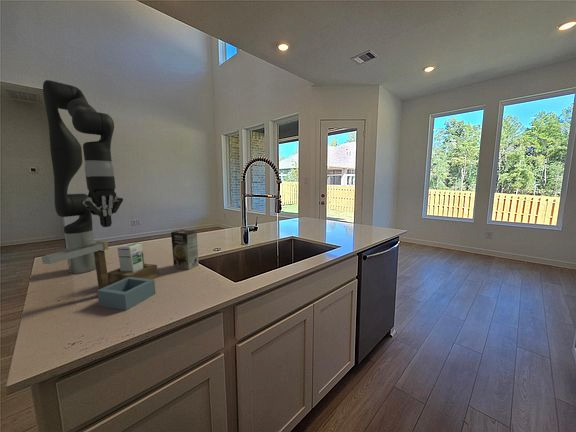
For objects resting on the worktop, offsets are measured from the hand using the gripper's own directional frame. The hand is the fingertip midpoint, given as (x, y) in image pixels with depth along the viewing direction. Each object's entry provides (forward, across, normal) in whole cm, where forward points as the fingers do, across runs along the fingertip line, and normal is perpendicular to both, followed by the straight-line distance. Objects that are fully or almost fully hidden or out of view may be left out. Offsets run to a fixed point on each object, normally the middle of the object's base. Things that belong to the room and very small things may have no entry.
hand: (106, 226), depth 82 cm
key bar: (+7, +10, 0) cm, 12 cm away
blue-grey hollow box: (+23, +4, +11) cm, 26 cm away
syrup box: (+23, -8, 0) cm, 25 cm away
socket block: (+23, -5, 0) cm, 24 cm away
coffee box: (+23, -27, +9) cm, 37 cm away
